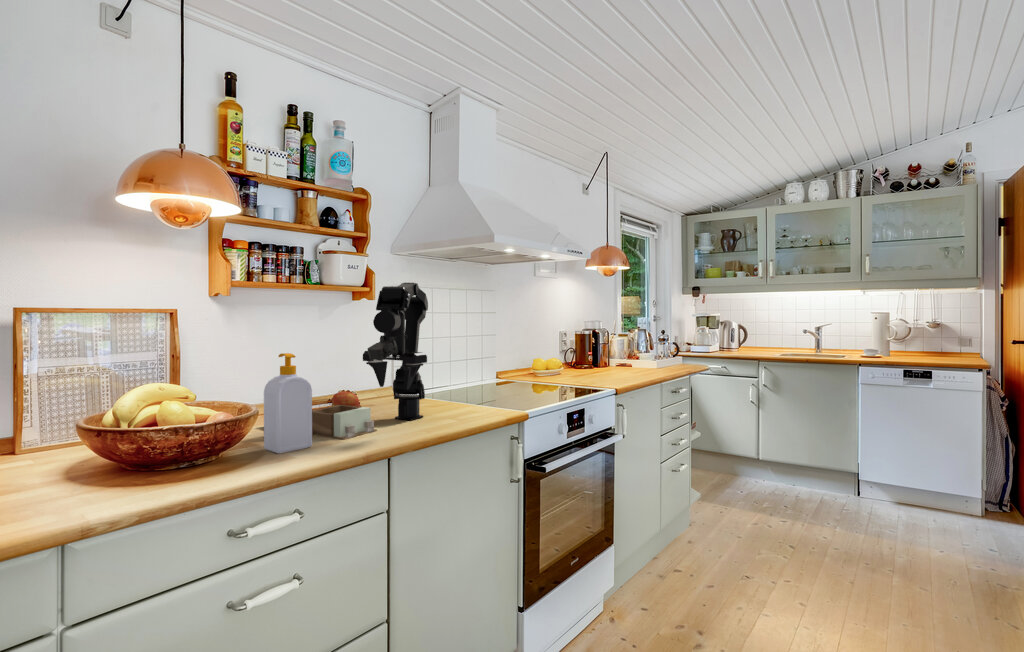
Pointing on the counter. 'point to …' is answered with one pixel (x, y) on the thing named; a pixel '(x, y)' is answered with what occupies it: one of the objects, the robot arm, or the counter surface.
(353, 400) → the orange-red spiky ball
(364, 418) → the door
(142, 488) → the counter surface
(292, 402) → the soap bottle
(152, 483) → the counter surface
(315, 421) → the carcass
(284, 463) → the counter surface
